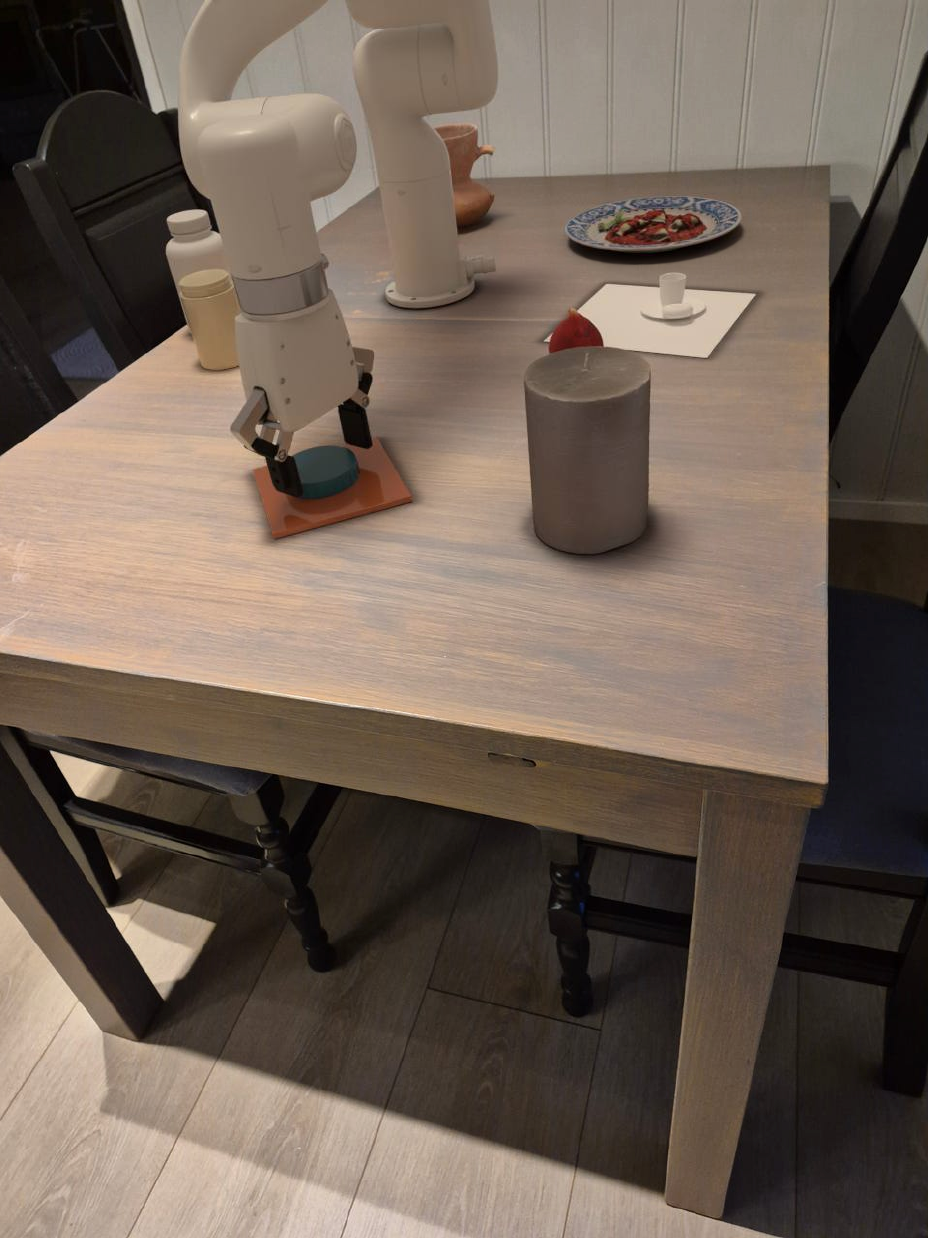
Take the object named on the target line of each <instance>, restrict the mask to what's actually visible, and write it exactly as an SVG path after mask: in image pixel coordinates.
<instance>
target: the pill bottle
mask: <svg viewBox="0 0 928 1238" xmlns="http://www.w3.org/2000/svg"><path fill="white" fill-rule="evenodd" d="M166 224H167V227H168V230H169V232H170V236H172V237H173V238H171V239H170V240H169V241H168V243H166V247H165V256H166V258H167V262H168V265H169V269H170V272H171V275H172V277H173V281H174V285H175V289H176V291H177V295H178V299H179V302H180V305H181V308H182V311H183V315H184V319H185V322H186V324H187V328H188V330H189V333H190V334H191V335H192V333H191V330H190V327H189V324H188V321H187V317H186V314H185V311H184V308H183V305H182V301H181V298H180V292H181V290H180V286H179V282H180V280H181V279H182V278H184V277H185V276H187V275H190V274H192V273H195V272H199V271H204V270H211V269H221V270H226V271H227V272H228V273H229V274H230V277H231V278H230V281H233V280H232V276H231V272H230V268H229V265H228V261H227V258H226V254H225V250H224V247H223V243H222V239H221V236H220V232H217V231H214V230H212V224H211V220H210V217H209V213H208V211H206V210H204V209H188V210H182V211H179V212H175V213H173V214H171V215H169V216H168V217H167V218H166Z"/></svg>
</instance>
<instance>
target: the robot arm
mask: <svg viewBox="0 0 928 1238" xmlns="http://www.w3.org/2000/svg"><path fill="white" fill-rule="evenodd" d="M328 1H329V0H204V1H203V2H202V4H201V6H200V8H199V10H198V12H197V14H196V15H195V17H194V20H193V22H192V23H191V25H190V27H189V30H188V31H187V34H186V36H185V38H184V42H183V43H182V44H183V45H182V47H181V52H180V56H179V62H178V70H177V71H178V72H177V121H178V123H177V124H178V139H179V149H180V154H181V159H182V163H183V166H184V167H183V168H184V170H185V173H186V174H187V176H188V179H189V180H190V183H191V184H192V185H193V187H194V188H195V189H196V190H197V192H198V193H199V194H200V195H202V196H204V197H205V198H206V199H208V200H210V203H211V206H212V210H213V214H214V218H215V221H216V225H217V228H218V233H219V234H220V236H221V239H222V243H223V247H224V250H225V254H226V258H227V261H228V265H229V268H230V272H231V276H232V280H233V284H234V287H235V291H236V295H237V298H238V302H239V306H240V309H241V314H239V315H237V316H236V317H235V338H236V348H237V356H238V362H239V366H238V368H239V373H240V377H241V382H242V387H243V393H244V397H245V401H246V402H245V404H244V405H243V406H242V408H241V410H240V411H239V412H238V414H237V416H236V417H235V418H234V420H233V422H232V423H231V424H230V428H229V430H230V433H231V434H232V435H233V436H234V437H235V438H236V439H237V441H239V442H240V444H242V445H243V447H244V448H245V449H246V450H248V451H249V452H252V453H255V454H257V455H258V456H261V457H263V458H264V460H265V463H266V466H268V470H269V473H270V477H271V480H272V484H273V486H274V487H275V489H276V490H277V491H278V492H281V493H284V494H288V495H291V496H294V497H297V498H298V497H300V496H301V495H302V494H303V488H302V484H301V480H300V477H299V473H298V469H297V465H296V462H295V459H294V457H292V455H290V454H289V453H290V449H291V446H292V445H291V444H292V441H293V437H294V435H295V432H298V431H299V430H301V429H303V428H305V427H307V426H308V425H310V424H312V423H313V422H315V421H316V420H319V419H320V418H321V417H323V416H324V415H326V414H327V413H329V412H330V411H332V410H334V409H335V408H337V413H338V417H339V422H340V425H341V430H342V435H343V441H344V443H345V444H346V445H353V446H357V447H360V448H364V449H369V448H371V447H372V446H373V443H372V439H373V438H372V433H371V430H370V424H369V423H370V422H369V418H368V414H367V410H366V409H367V408H368V407H369V406H370V402H371V400H370V396H368V395H369V393H370V391H371V386H372V384H373V382H374V381H373V380H374V378H373V377H374V376H373V375H372V372H373V369H374V362H375V361H374V360H375V351H374V350H372V349H368V348H364V347H358V346H357V347H356V346H353V345H352V341H351V338H350V335H349V331H348V327H347V323H346V321H345V318H344V315H343V313H342V310H341V308H340V305H339V302H338V299H337V298H336V295H335V293H334V291H333V289H331V288H329V285H328V280H327V275H326V270H327V269H328V268H329V266H330V265H329V264H330V262H329V259H328V257H327V255H326V254H324V253H323V252H321V247H320V242H319V238H318V233H317V229H316V223H315V219H314V218H315V217H314V214H313V208H312V204H311V202H314V201H316V200H318V199H320V198H325V197H327V196H330V195H333V194H334V193H335V192H337V191H338V190H340V189H341V188H343V186H344V185H345V184H346V183H347V181H348V180H349V179H350V176H351V174H352V172H353V170H354V166H355V164H356V160H357V155H358V153H357V152H358V146H357V137H356V136H357V135H356V132H355V128H354V126H353V123H352V120H351V118H350V116H349V114H348V113H347V111H346V109H344V107H343V106H342V105H341V104H340V103H339V102H338V101H336V100H335V99H334V98H332V97H330V96H327V95H325V94H320V93H309V92H308V93H295V94H285V95H284V94H283V95H277V96H271V95H269V96H259V97H250V98H241V99H232V97H233V92H234V90H235V87H236V85H237V83H238V80H239V78H240V77H241V75H242V73H243V71H244V70H246V68H247V67H248V65H249V64H250V63H251V62H252V61H253V60H254V58H256V56H258V55H259V54H260V53H261V52H262V51H263V50H265V49H266V48H267V47H268V46H270V45H272V44H273V43H274V42H275V41H277V40H279V39H280V38H282V37H283V36H285V35H286V34H287V33H289V32H290V31H292V30H293V29H294V28H296V27H298V25H300V24H301V23H303V22H304V21H306V20H307V19H308V18H310V17H311V16H312V15H314V14H315V13H316V12H318V11H319V10H320V9H322V7H323V6H324V5H325V4H326V3H327V2H328ZM344 2H345V5H346V7H347V9H348V12H349V14H350V16H351V17H352V19H353V20H354V22H356V23H357V24H358V25H359V26H361V27H363V28H365V29H371V30H372V31H370V32H368V33H366V34H365V35H364V36H362V37H361V38H360V40H359V41H357V44H356V45H355V47H354V50H353V53H352V54H353V55H352V64H351V65H352V74H353V79H354V83H355V87H356V90H357V94H358V96H359V100H360V103H361V107H362V110H363V113H364V116H365V119H366V123H367V127H368V131H369V135H370V140H371V141H370V142H371V145H372V150H373V155H374V156H373V157H374V161H375V166H376V172H377V173H376V174H377V180H378V186H379V192H380V200H381V205H382V210H383V217H384V225H385V232H386V236H387V242H388V247H389V249H388V250H389V256H390V262H391V267H392V273H393V280H394V281H392V282H391V283H390V284H388V285H387V287H386V288H385V291H384V293H385V294H384V295H385V300H386V301H387V303H390V304H391V305H393V306H395V307H399V308H404V309H405V308H407V309H429V308H435V307H440V306H445V305H449V304H452V303H456V302H458V301H461V300H462V299H464V298H467V297H468V296H469V295H470V294H472V292H473V291H474V290H475V279H474V278H475V277H474V275H478V274H488V273H494V272H496V269H497V266H496V260H495V257H494V256H490V257H485V258H484V255H482V254H481V255H475V256H471V257H467V256H466V255H465V256H464V255H463V253H462V251H461V249H460V244H459V233H458V228H457V224H456V215H455V207H454V198H453V189H452V180H451V171H450V160H449V154H448V151H447V148H446V146H445V143H444V142H443V140H442V138H441V137H440V135H439V134H438V133H437V131H436V130H435V129H434V128H433V127H434V126H433V125H432V124H431V123H430V122H429V120H428V119H427V118H426V117H427V116H428V117H429V116H432V115H439V114H449V113H459V112H467V111H475V110H479V109H483V108H485V107H486V106H488V105H489V104H490V103H491V102H492V101H493V100H494V98H495V95H496V93H497V90H498V84H499V64H498V63H499V62H498V61H499V60H498V54H497V46H496V39H495V33H494V27H493V20H492V19H493V18H492V13H491V6H490V0H344ZM257 425H258V426H261V429H260V433H259V434H258V433H257V430H256V428H257ZM276 431H278V434H277V435H278V436H277V440H276V441H275V442H276V443H275V444H274V439H275V436H276V433H277V432H276Z"/></svg>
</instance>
